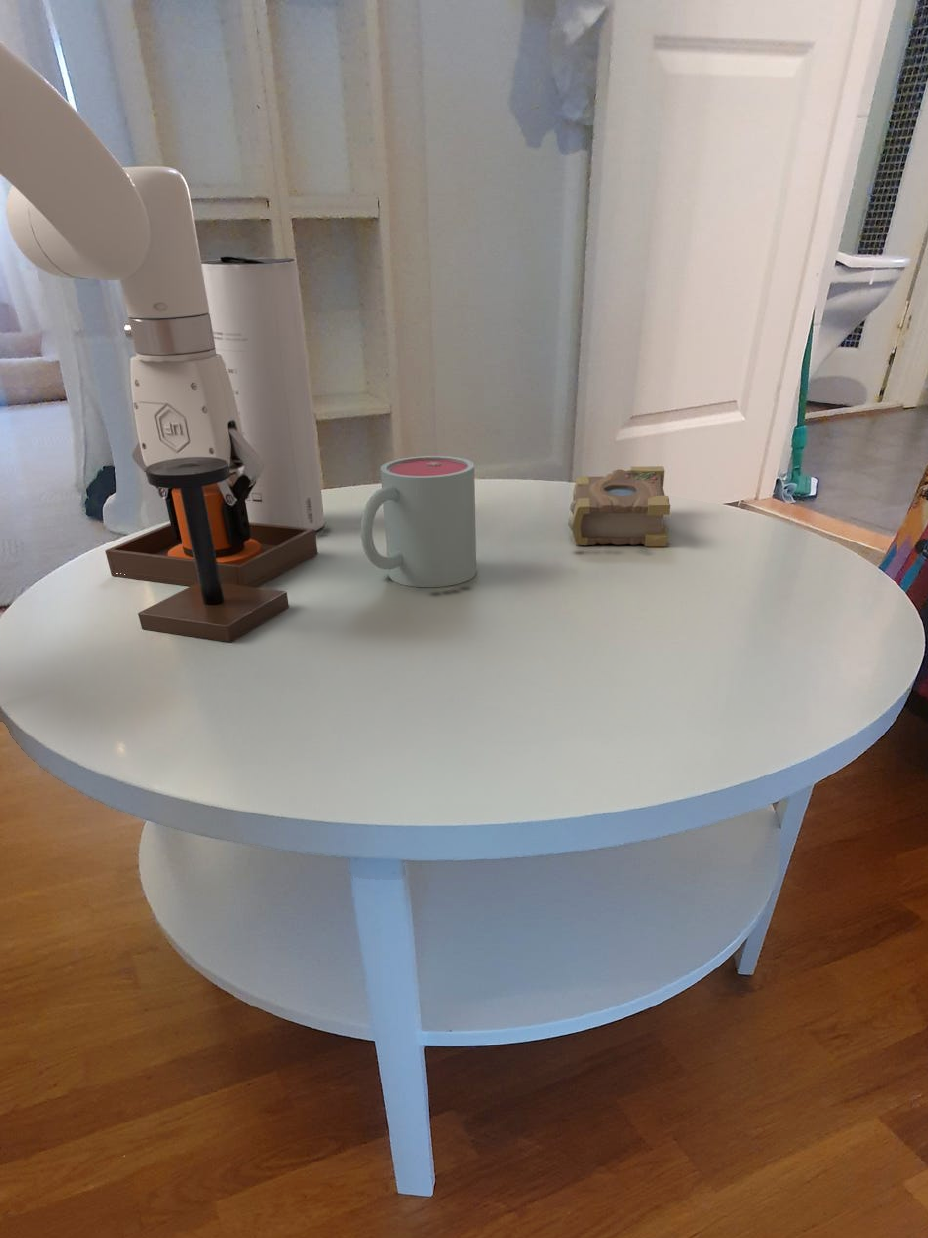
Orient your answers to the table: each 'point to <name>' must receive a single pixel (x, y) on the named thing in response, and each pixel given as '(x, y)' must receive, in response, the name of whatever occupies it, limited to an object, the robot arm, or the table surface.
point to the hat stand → (206, 566)
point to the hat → (212, 530)
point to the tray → (278, 555)
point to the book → (620, 508)
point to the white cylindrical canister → (268, 382)
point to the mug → (425, 521)
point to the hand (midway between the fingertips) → (212, 538)
